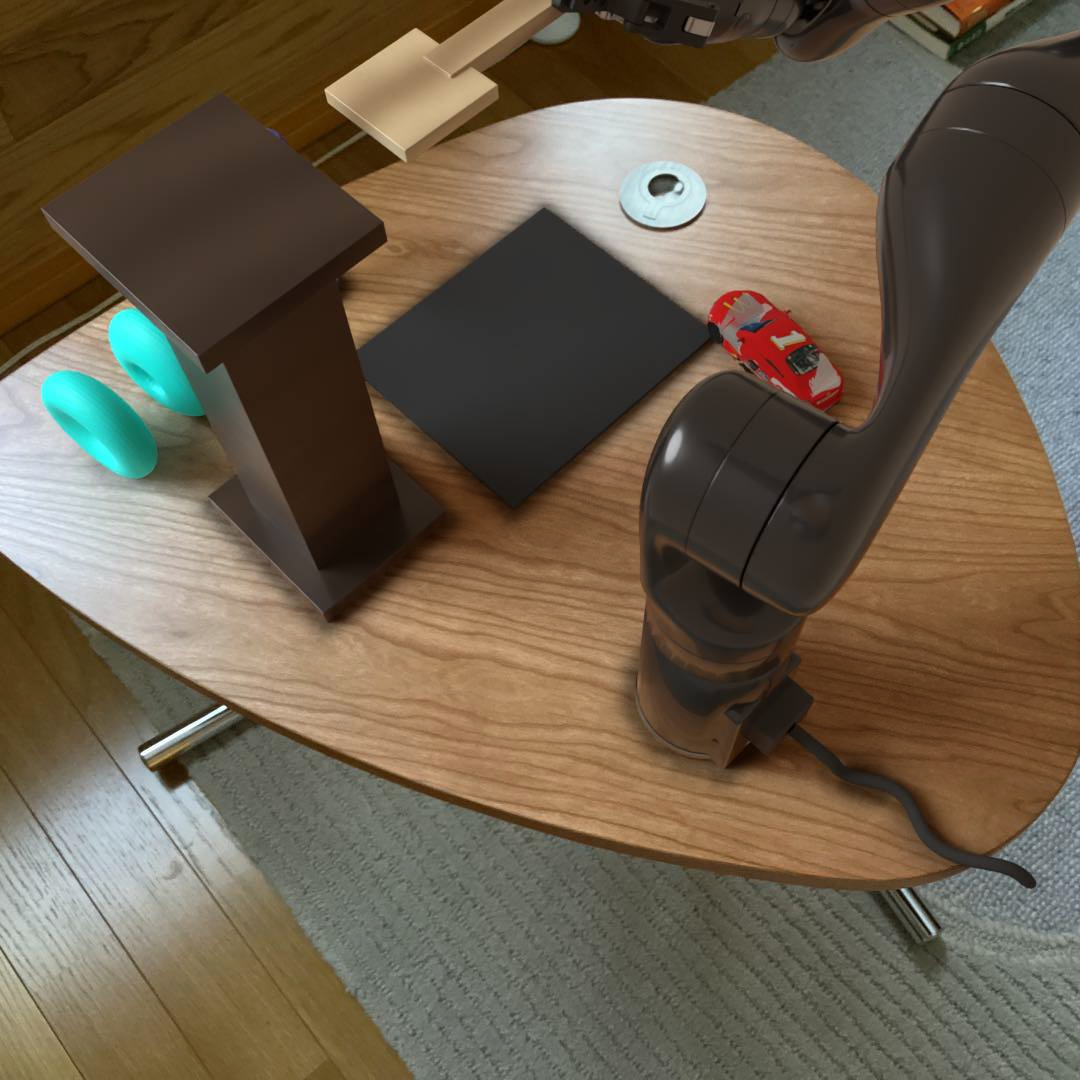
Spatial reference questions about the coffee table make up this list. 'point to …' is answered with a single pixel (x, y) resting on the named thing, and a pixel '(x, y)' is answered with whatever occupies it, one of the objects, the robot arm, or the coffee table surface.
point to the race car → (774, 348)
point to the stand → (260, 337)
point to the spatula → (434, 78)
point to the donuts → (104, 414)
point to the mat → (530, 355)
